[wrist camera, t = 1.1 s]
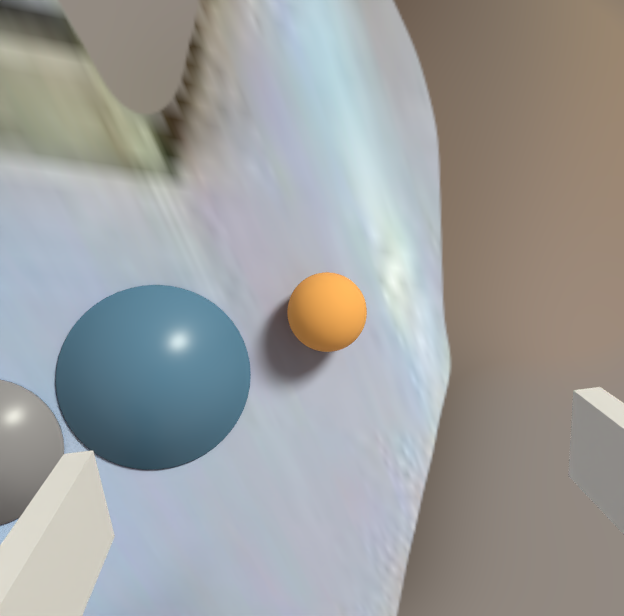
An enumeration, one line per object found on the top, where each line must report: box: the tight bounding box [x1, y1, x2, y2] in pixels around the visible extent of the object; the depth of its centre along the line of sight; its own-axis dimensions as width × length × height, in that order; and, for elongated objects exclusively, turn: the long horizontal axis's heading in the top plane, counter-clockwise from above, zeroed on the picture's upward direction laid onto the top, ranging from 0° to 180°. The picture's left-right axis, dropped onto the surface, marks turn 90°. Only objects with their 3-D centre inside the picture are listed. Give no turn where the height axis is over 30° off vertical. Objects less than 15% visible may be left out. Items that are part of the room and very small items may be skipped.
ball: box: [287, 272, 367, 352], centre depth 36 cm, size 6×6×6 cm
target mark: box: [56, 285, 250, 469], centre depth 36 cm, size 13×13×1 cm
